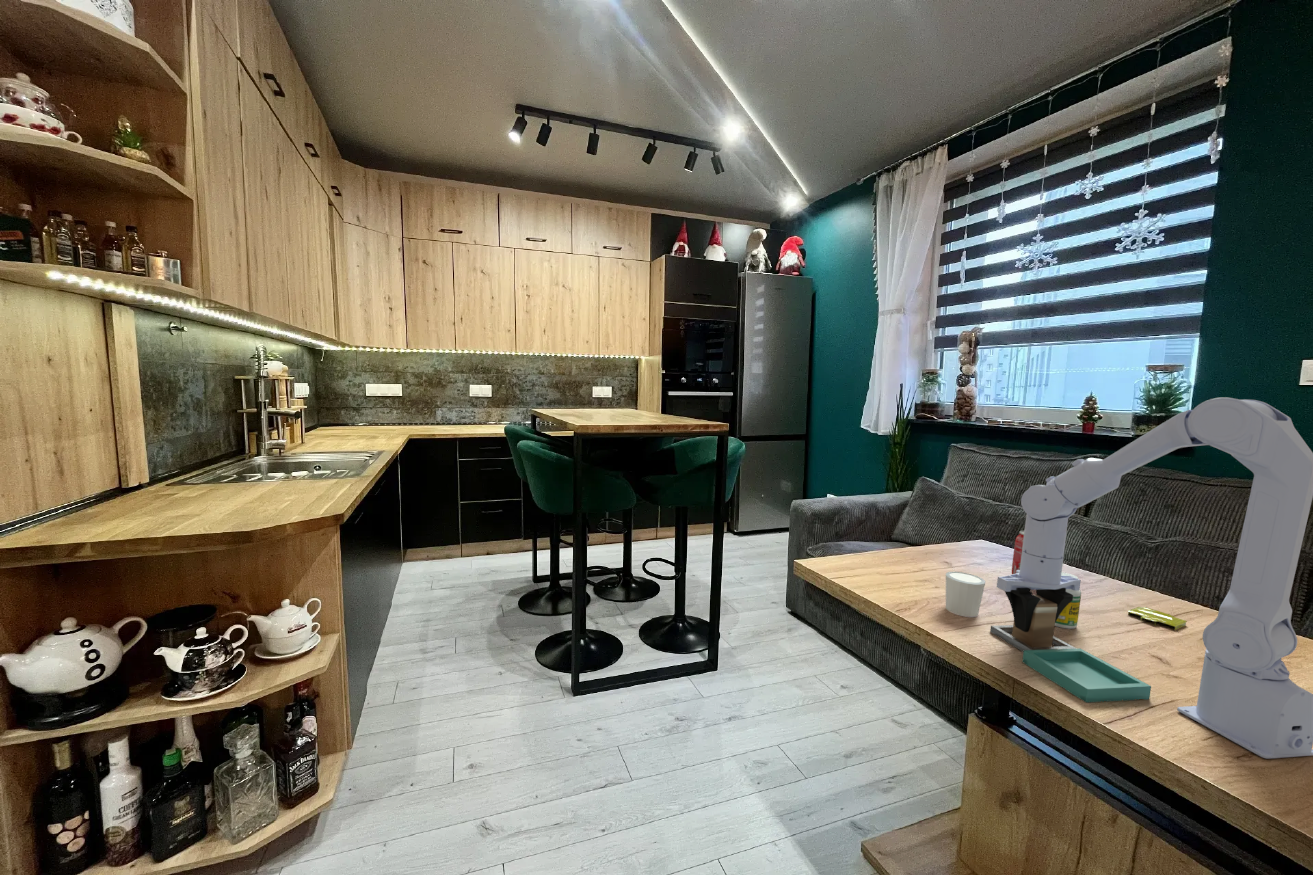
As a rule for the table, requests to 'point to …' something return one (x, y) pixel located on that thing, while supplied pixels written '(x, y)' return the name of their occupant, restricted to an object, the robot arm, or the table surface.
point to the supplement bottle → (1070, 609)
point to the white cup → (964, 593)
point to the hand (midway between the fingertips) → (1033, 628)
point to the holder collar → (1005, 632)
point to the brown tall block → (1039, 625)
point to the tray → (1086, 675)
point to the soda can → (1017, 552)
